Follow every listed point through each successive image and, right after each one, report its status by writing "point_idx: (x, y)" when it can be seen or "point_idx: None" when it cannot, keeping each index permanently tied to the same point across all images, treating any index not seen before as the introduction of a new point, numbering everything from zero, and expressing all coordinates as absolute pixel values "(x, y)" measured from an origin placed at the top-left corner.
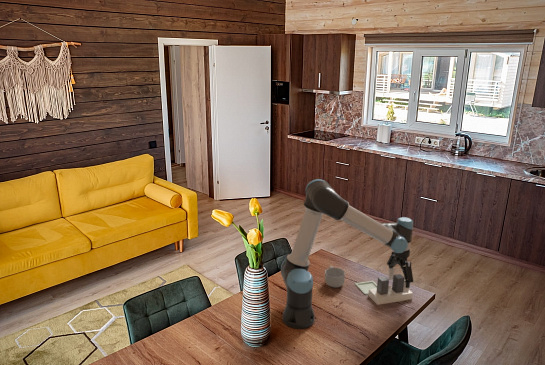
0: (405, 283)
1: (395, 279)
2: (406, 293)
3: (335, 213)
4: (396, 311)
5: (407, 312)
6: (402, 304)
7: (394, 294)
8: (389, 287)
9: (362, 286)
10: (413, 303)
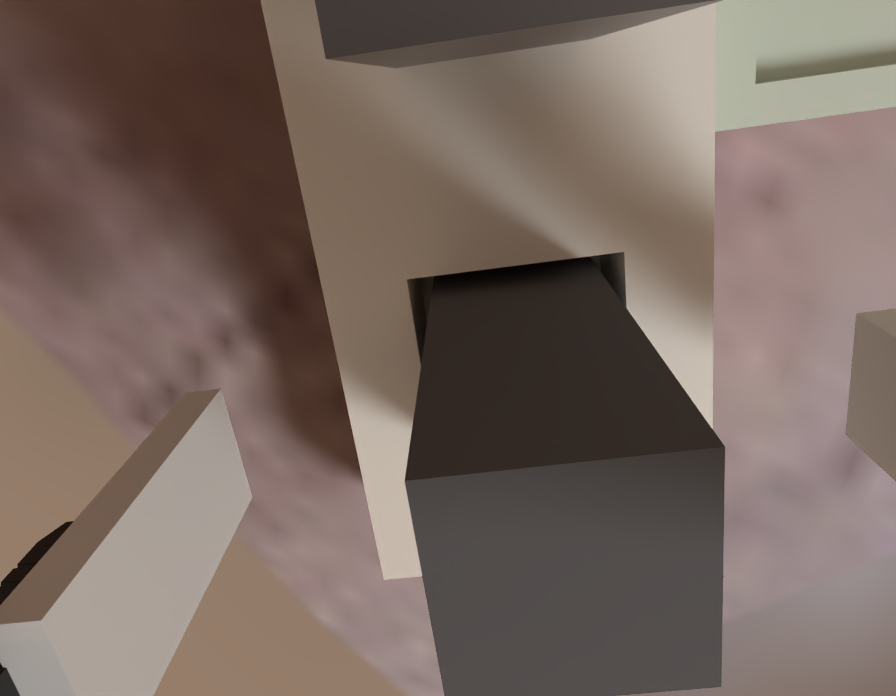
0: (45, 586)
1: (542, 413)
2: (371, 471)
3: None
4: (56, 102)
5: (42, 280)
6: (276, 303)
7: (354, 221)
8: (657, 237)
9: None
10: (297, 475)
